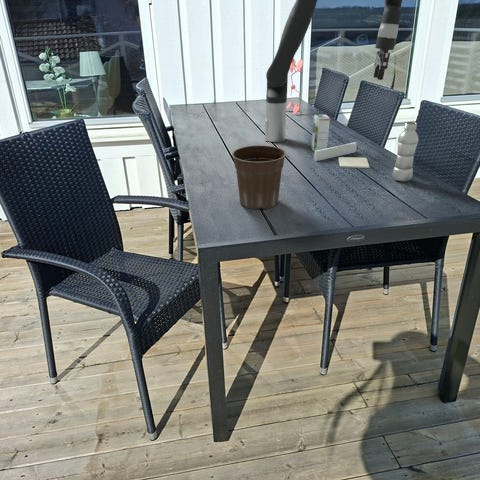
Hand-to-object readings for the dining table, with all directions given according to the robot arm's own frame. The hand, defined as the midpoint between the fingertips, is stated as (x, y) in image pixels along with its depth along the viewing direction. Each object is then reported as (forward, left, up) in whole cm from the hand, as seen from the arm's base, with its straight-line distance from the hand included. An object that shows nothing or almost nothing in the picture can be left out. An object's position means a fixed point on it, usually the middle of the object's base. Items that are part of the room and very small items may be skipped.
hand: (377, 78), depth 181 cm
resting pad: (-10, -32, -27) cm, 43 cm away
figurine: (-40, +59, -28) cm, 77 cm away
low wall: (-17, -23, -27) cm, 39 cm away
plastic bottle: (+5, -50, -28) cm, 57 cm away
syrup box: (-23, -15, -28) cm, 39 cm away
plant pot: (-43, -75, -28) cm, 90 cm away
